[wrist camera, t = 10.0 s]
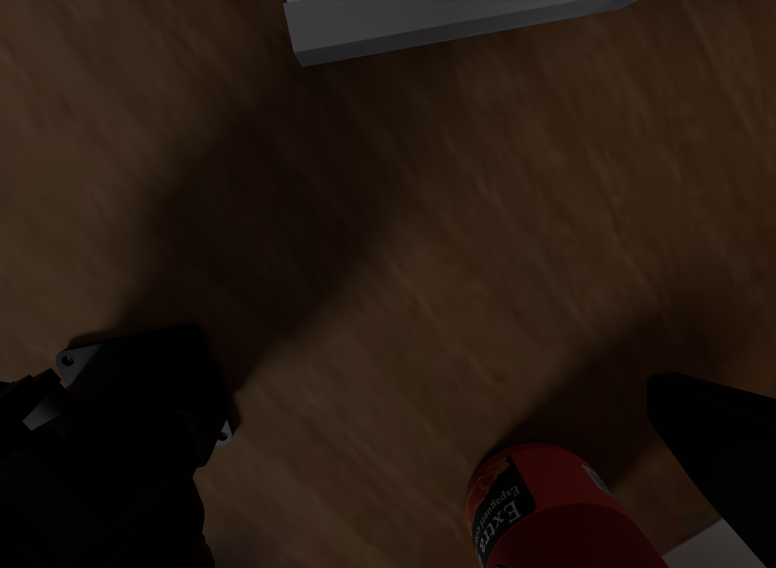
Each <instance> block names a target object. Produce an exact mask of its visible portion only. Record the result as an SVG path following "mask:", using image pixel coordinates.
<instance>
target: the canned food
mask: <svg viewBox="0 0 776 568" xmlns="http://www.w3.org/2000/svg"><path fill="white" fill-rule="evenodd" d="M465 515H466V522H467V525H468V528H469V531H470V534H471V538H472V541H473V544H474V547H475V550H476V554H477V557H478V560H479V563H480V566H481V568H669V567H668V565H667V564H666V563H665V562H664V560H663V559H662V557H661V556H660V555H659V554H658V552H657V551H656V550H655V548H654V547H653V546H652V545H651V543H650V542H649V541H648V539H647V538H646V537H645V536H644V534H643V533H642V532H641V530H640V529H639V528H638V527H637V525H636V524H635V523H634V521H633V520H632V519H631V517H630V516H629V515H628V514H627V512H626V511H625V510H624V508H623V507H622V506H621V505H620V503H619V502H618V501H617V499H616V498H615V497H614V496H613V494H612V493H611V492H610V490H609V489H608V488H607V487H606V485H605V484H604V483H603V481H602V480H601V479H600V477H599V476H598V475H597V474H596V472H595V471H594V470H593V469H592V467H591V466H590V465H589V464H588V463H587V462H585V461H584V460H583V459H581V458H580V457H579V456H577V455H576V454H574V453H573V452H571V451H570V450H568V449H565V448H563V447H561V446H559V445H554V444H550V443H542V442H531V443H522V444H519V445H515V446H511V447H509V448H506V449H504V450H502V451H500V452H498V453H496V454H495V455H493V456H492V457H490V458H489V459H487V460H486V461H485V462H484V463H483V464H482V465H481V466H480V467H479V468H478V470H477V471H476V472H475V474H474V475H473V477H472V478H471V481H470V483H469V485H468V488H467V493H466V501H465Z"/></svg>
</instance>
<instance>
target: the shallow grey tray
mask: <svg viewBox="0 0 776 568" xmlns="http://www.w3.org/2000/svg"><path fill="white" fill-rule="evenodd" d="M635 1H637V0H287V3H283V6H284V10H285V15H286V20H287V24H288V29H289V33H290V38H291V42H292V47H293V51H294V54H295V56H296V57H297V59H298V61H299V63H300V65H301V67H307V66H313V65H318V64H324V63H329V62H335V61H340V60H346V59H351V58H356V57H362V56H367V55H373V54H378V53H384V52H389V51H395V50H400V49H406V48H411V47H416V46H422V45H427V44H433V43H438V42H444V41H449V40H455V39H460V38H466V37H471V36H476V35H482V34H487V33H493V32H498V31H504V30H509V29H515V28H520V27H525V26H531V25H536V24H542V23H547V22H553V21H558V20H564V19H569V18H575V17H580V16H585V15H591V14H596V13H602V12H607V11H613V10H618V9H622V8H624V7H625V6H627V5H629V4H631V3H633V2H635Z"/></svg>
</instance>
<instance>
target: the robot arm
mask: <svg viewBox="0 0 776 568" xmlns="http://www.w3.org/2000/svg"><path fill="white" fill-rule="evenodd" d="M185 332H189V333H191V334H192V335H193V338H192V339H189V338H187V337H186V336H185ZM67 356H69V357H71V358H72V359H73V362H70V361H69V360H68V359H67ZM56 363H57V366H58V368H59V370H60V372H61V374H62V377H63V379H64V381H65V383H66V385H67V388H66V389H65V388H64V387H63V386H62V385H61V384H60V383H59V382H60V381H61V379H60V377H59V376H58V375H57V374H56V373H55V372H54V371H53V370H52V369H51V368H49V369H47V370H45V371H44V372H42V373H40V374H38V375H37V376H35V377H32V376H31V375H28V376H26V377H24V378H22V379H20V380H18V381H17V382H15V381H14V382H12V383H8V382H2V381H0V568H214V566H215V561H214V558H213V555H212V553H211V550H210V547H209V546H208V545H207V544H206V543H205V536H204V535H203V534H202V530H203V524H204V516H205V514H204V507H203V503H202V501H201V498H200V496H199V493H198V491H197V488H196V485H195V483H194V480H193V478H192V477H193V475H194V473H195V471H196V469H197V468H198V467H203V466H205V465H206V463H207V462H208V460H209V459H210V456H211V454H212V452H213V450H214V447H217V446H222V445H226V444H228V443H230V442H231V440H232V438H233V435H234V428H233V425H232V422H231V419H230V416H229V413H230V411H231V405H230V402H229V399H228V396H227V393H226V390H225V387H224V384H223V381H222V378H221V375H220V372H219V369H218V366H217V365H216V364H214V363H213V362H211V360H210V357H209V354H208V351H207V348H206V345H205V342H204V339H203V336H202V333H201V331H200V329H199V328H198V327H197V326H196V325H193V324H184V325H179V326H174V327H169V328H164V329H159V330H154V331H149V332H144V333H139V334H134V335H129V336H124V337H119V338H114V339H109V340H104V341H99V342H94V343H89V344H84V345H79V346H74V347H69V348H66V349H64V350H63V351H61V352H60V353H59V354H58V355H57V356H56ZM647 415H648V418H649V421H650V423H651V424H652V426H653V427H654V429H655V430H656V432H657V433H658V434H659V436H660V437H661V438H662V440H663V441H664V443H665V444H666V445H667V447H668V448H669V449H670V451H671V452H672V454H673V455H674V456H675V458H676V459H677V460H678V462H679V463H680V465H681V466H682V467H683V469H684V470H685V472H686V473H687V474H688V476H689V477H690V478H691V480H692V481H693V482H694V484H695V485H696V486H697V488H698V489H699V490H700V492H701V493H702V494H703V495H704V496H705V498H706V499H707V500H708V501H709V502H710V504H711V505H712V506H713V507H714V508H715V509H716V510H717V512H718V513H719V514H720V515H721V516H722V517H723V518H724V520H725V521H726V522H727V523H728V524H729V525H730V526H731V527H732V529H733V530H734V531H735V532H736V533H737V534H738V536H739V537H740V538H741V539H742V540H743V541H744V542H745V543H746V545H747V546H748V547H749V548H750V549H751V550H752V552H753V553H754V554H755V555H756V556H757V557H758V558H759V560H760V561H762V563H763V564H764V565H765V566H766V567H767V568H776V399H774V398H770V397H767V396H763V395H759V394H755V393H751V392H748V391H744V390H740V389H736V388H732V387H729V386H725V385H721V384H717V383H713V382H710V381H706V380H702V379H698V378H694V377H691V376H687V375H683V374H679V373H675V372H664V373H659V374H654V375H651V376H650V377H649V378H648V380H647ZM221 432H224V433H226V434H227V436H222V435H220V434H221Z"/></svg>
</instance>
